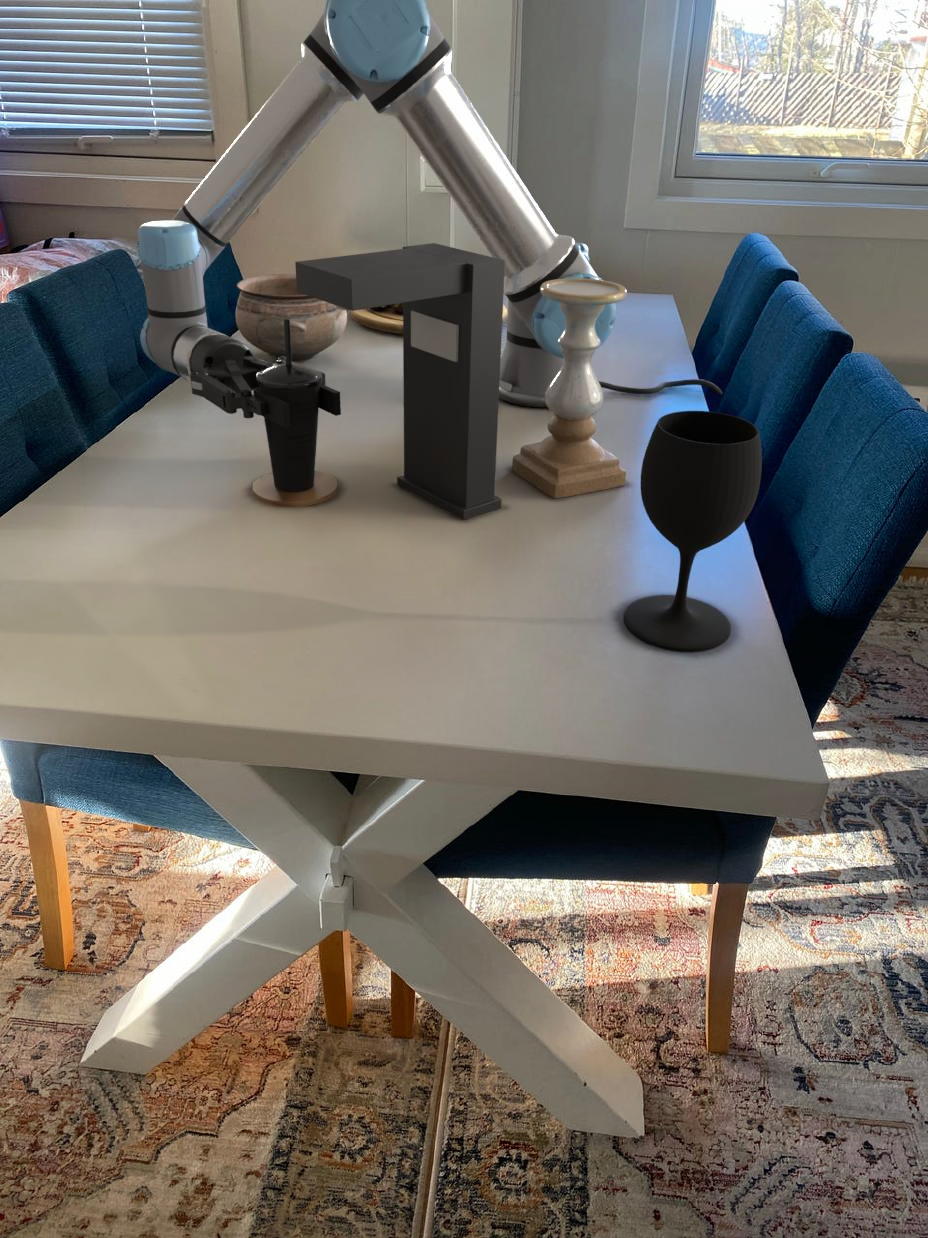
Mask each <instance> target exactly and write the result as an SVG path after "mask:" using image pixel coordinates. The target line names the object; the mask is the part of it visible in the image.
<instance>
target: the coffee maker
mask: <svg viewBox="0 0 928 1238" xmlns="http://www.w3.org/2000/svg"><path fill="white" fill-rule="evenodd" d="M294 265H295V274H296V283H297V292H299V293H302V294H304V295H307V296H310V297H313V298H316V299H319V300H322V301H325V302H328V303H331V304H334V305H336V308H337V309H339V310H346V311H347V312H348V311H349V312H350V310H351V311H355V310H361V309H367V308H374V307H380V306H386V305H392V304H399V303H403V334H402V347H403V348H402V349H403V350H402V357H403V359H402V363H403V365H402V366H403V367H402V369H403V376H402V377H403V379H402V381H403V382H402V383H403V474H402V475H398V476H397V477H396V486H397V487H399V488H401V489H403V490H405V491H407V492H409V493H410V494H412V495H414V496H416V497H418V498H420V499H423V500H424V501H426V502H428V503H430V504H431V505H434V506H435V507H437V508H440V509H442V510H443V511H445V512H447V513H449V514H451V515H453V516H455V517H456V518H458V519H460V520H463V521H465V520H468V519H471V518H474V517H477V516H480V515H483V514H486V513H489V512H491V511H492V512H493V511H495V510H498V509H501V508H502V498H500V497H499V496H497V495H496V494H495V493H496V492H495V489H496V470H497V469H496V468H497V445H498V427H499V425H498V424H499V404H500V403H499V402H500V398H499V383H500V361H501V356H502V335H503V324H502V316H503V305H504V295H505V294H504V272H505V260H502V259H498V258H494V257H492V256H489V255H486V254H485V255H484V254H481V253H477V252H474V251H473V252H472V251H469V250H464V249H460V248H456V247H451V246H447V245H444V244H439V243H435V242H431V243H423V244H414V245H407V246H406V245H405V246H402V248H397V249H390V250H382V251H374V252H365V253H357V254H349V255H340V256H332V257H325V258H324V257H323V258H316V259H307V260H299V261H295V262H294Z"/></svg>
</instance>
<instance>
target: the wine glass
mask: <svg viewBox="0 0 928 1238" xmlns="http://www.w3.org/2000/svg"><path fill="white" fill-rule="evenodd" d="M647 443H648V444H647V446H646V449H645V452H644V456H643V459H642V463H641V464H642V465H641V469H640V496H641V501H642V506H643V508H644V511H645V513H646V515H647V517H648V519H649V520H650V523H651V524H652V525H653V526H654V527H655V529H656V530H657V532H658V533H659V534H660V535H661V536H662V537H664V538H665V540H667V542H669V543H670V544H671V545H673V546H674V547H676V548H677V550H678V552H679V568H678V570H679V571H678V580H677V586H676V591H675V595H674V594H656V595H649V596H645V597H642V598H639V599H637V600H634V601H632V602H631V603H630V604H629V605H628V606H627V607H626V608H625V610H624V612H623V624H624V627H625V628H626V629H627V631H628V633H630V634H631V635H632V636H634V638H636V639H638V640H639V641H641V642H643V643H644V644H648V645H649V646H652V647H655V648H658V649H662V650H665V651H671V652H678V653H701V652H706V651H710V650H713V649H716V648H718V647H720V646H722V645H723V644H725V643H726V642H727V641H728V640H729V638H730V636H731V632H732V626H731V622H730V620H729V619H728V617H727V616H726V615H725V613H723V611H721V610H720V609H718V608H716V607H715V606H713V605H711V604H709V603H707V602H705V601H703V600H699V599H697V598H693V597H688V588H689V581H690V576H691V572H692V567H693V563H694V561H695V558H696V556H697V554H698V553H699V552H700V551H703V550H705V549H708V548H710V547H713V546H716V545H717V544H718V543H720V542H722V541H724V540H726V539H727V538H729V537H730V536H732V534H734V533H735V532H736V531H737V530H738V529H739V528H740V527H741V526H742V525H743V524H744V522H745V521H746V520H747V518H748V517H749V515H750V513H751V512H752V510H753V508H754V505H755V504H756V501H757V499H758V495H759V490H760V485H761V478H762V466H763V460H762V459H763V458H762V457H763V456H762V455H763V454H762V443H761V436H760V430H759V428H758V427H757V426H756V425H755V424H753V423H752V422H750V421H748V420H747V419H744V418H742V417H739V416H735V415H733V414H732V415H731V414H727V413H723V412H717V411H709V410H708V411H707V410H682V411H675V412H671V413H666V414H664V415H662V416H661V417H659V418H658V420H657V422H656V424H655V426H654V428H653V430H652V433H651V435H650V437H649V441H648V442H647Z"/></svg>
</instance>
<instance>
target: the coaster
mask: <svg viewBox="0 0 928 1238" xmlns="http://www.w3.org/2000/svg"><path fill="white" fill-rule="evenodd" d="M338 485H339V484H338V481H337V480H336V478H334V477H333V476H332V475H330V474H328V473H327V472H326V473H325V472H322V471H318V470H315V475H314V486H313V487H312V488H310V489H308V490H305V491H301V492H286V491H282V490H279V489H277V488H276V487H275V485H274V478H273V472H270V473H267V474H265V475H263V476H261V477H259V478H257V479H256V480H255V481H254V482H253V484H252V488H251V489H252V494H253V496H254V497H255V498H256V499H257V500H258V501H260V502H263V503H265V504H268V505H272V506H278V507H289V508H291V507H292V508H293V507H305V506H312V505H316V504H320V503H323V502H325V501H328V500H329V499H331V498H333V497H334V496H335V495H336V494H337V492H338V490H339V489H338V488H339V486H338Z"/></svg>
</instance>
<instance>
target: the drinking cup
mask: <svg viewBox="0 0 928 1238" xmlns="http://www.w3.org/2000/svg"><path fill="white" fill-rule="evenodd" d="M284 338H285V358H286V363H284V364H278V365H274V366H271V367H269V368H267V369H265V370H262V371H260V372H259V373H257V375H256V381H257V383H259V387H260V390H261V391H263V392H264V393H267V394H271V395H273V396H275V397H277V398H279V399H281V400H283V401H285V402H287V403H289V417H290V427H285V428H284V427H282V426H280V425H278V424H276V423H274V422H273V421H271V420H269V419H267V418H265V417H263V419H264V426H265V432H266V439H267V445H268V452H269V458H270V459H269V460H270V465H271V471H272V472H271V473H273V478H274V485H275V487H276V488H277V489H279V490H282V491H286V492H301V491H305V490H308V489H310V488H312V487H313V486H314V475H315V471H316V458H317V441H318V440H317V439H318V426H319V425H318V424H319V409H320V408H319V393H320V383H321V382H322V380H323V377H322V374H321V373H320V372H321V371H320V372H318V371H319V370H317V369H315V368H312V367H310V366H306V365H304V364H301V363H298V364H294V363H292V359H291V338H290V320H289V319H284ZM300 364H301V365H300ZM311 368H312V369H311ZM316 370H317V371H316Z"/></svg>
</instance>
